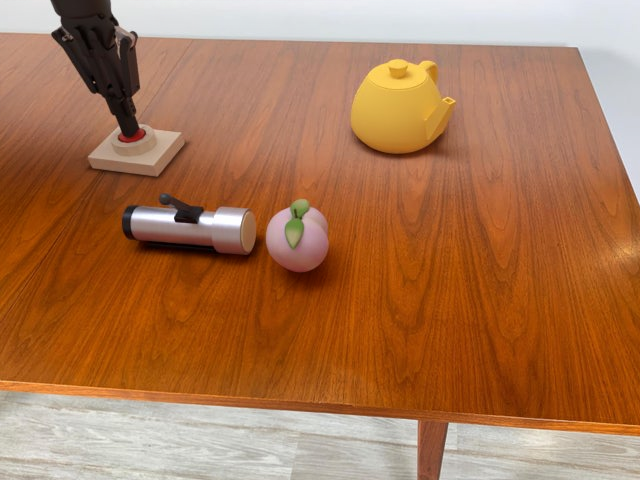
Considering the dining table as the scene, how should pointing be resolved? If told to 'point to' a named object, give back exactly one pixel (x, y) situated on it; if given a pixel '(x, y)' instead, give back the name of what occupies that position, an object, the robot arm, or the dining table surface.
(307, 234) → the decorative fruit
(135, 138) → the dock button
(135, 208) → the flashlight
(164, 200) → the flashlight switch
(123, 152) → the beige dock base
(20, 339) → the dining table surface
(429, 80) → the teapot
